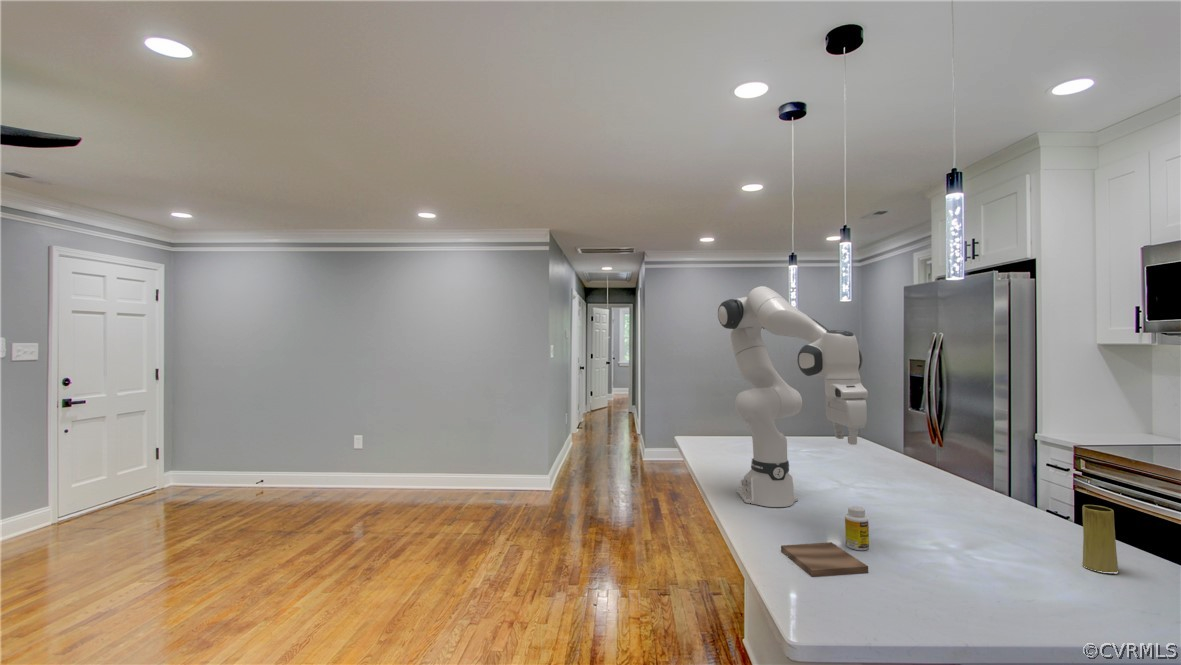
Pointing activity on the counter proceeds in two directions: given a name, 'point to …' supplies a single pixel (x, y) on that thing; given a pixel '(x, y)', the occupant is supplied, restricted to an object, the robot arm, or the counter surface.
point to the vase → (1099, 539)
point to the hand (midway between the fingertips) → (845, 441)
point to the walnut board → (823, 559)
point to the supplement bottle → (857, 528)
